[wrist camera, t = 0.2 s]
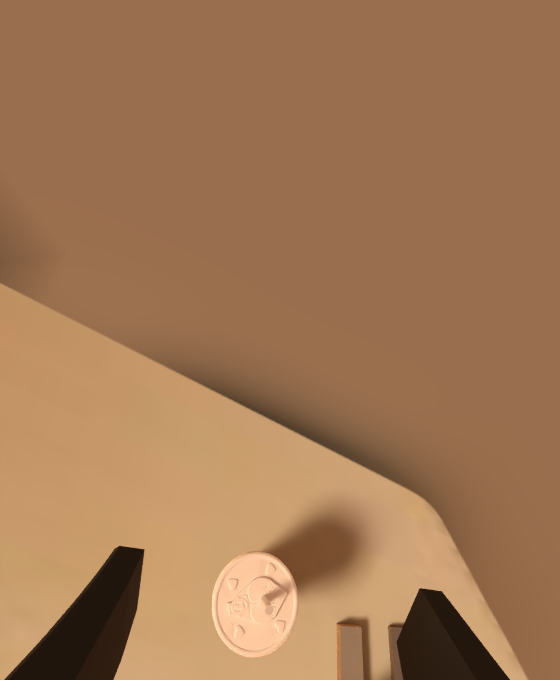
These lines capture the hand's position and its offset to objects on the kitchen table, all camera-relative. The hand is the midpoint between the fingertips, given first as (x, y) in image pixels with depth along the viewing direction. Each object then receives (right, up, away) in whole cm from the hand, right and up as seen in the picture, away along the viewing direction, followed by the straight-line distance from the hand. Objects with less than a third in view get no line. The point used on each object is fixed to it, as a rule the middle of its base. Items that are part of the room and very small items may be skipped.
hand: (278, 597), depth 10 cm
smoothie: (-3, -17, +26) cm, 31 cm away
